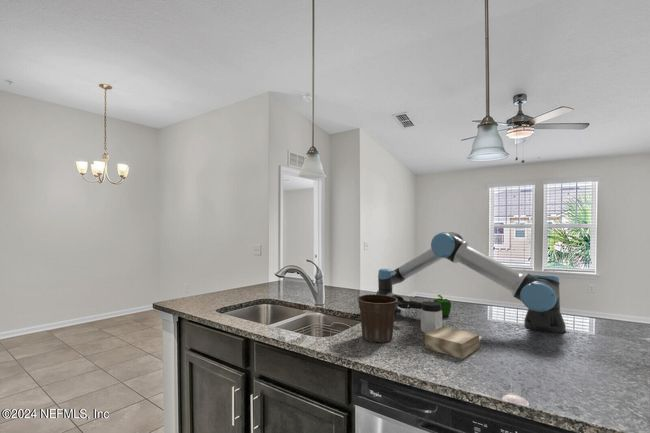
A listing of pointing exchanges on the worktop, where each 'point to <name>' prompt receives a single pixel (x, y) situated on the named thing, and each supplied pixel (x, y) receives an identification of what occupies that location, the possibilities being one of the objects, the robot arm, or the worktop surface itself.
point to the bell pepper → (444, 305)
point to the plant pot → (377, 317)
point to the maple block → (452, 341)
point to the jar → (430, 316)
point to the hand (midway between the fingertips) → (418, 311)
